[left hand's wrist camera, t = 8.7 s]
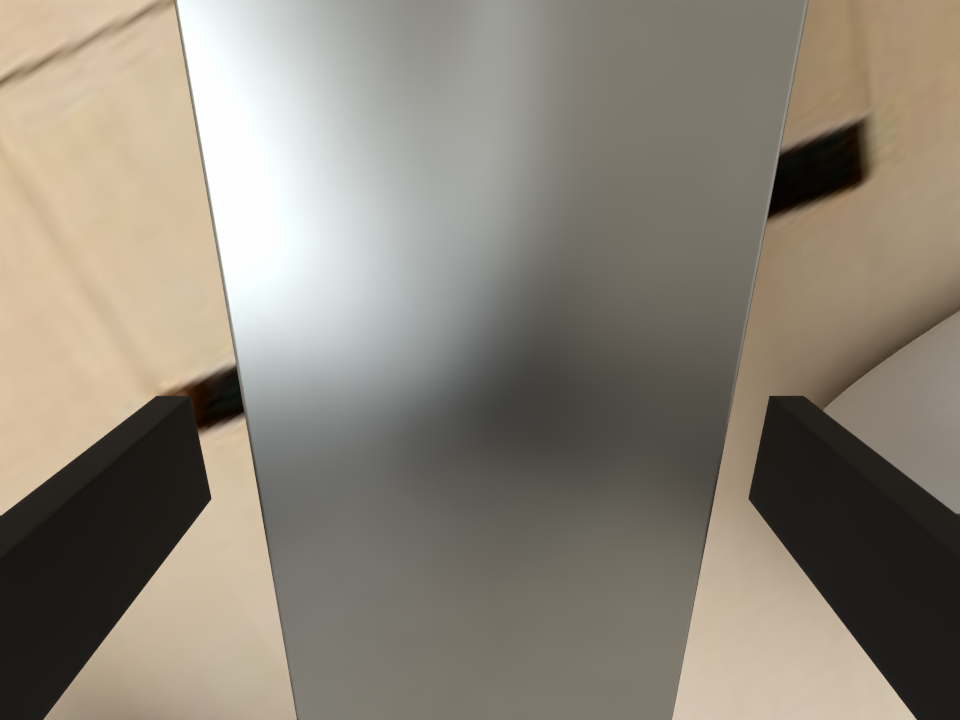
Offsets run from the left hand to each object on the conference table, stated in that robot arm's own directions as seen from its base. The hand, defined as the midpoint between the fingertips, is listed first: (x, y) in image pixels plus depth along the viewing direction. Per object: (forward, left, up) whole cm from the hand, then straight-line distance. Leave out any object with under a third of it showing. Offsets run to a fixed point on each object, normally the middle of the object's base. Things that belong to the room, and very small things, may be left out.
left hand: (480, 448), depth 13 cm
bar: (+9, +2, -3) cm, 10 cm away
